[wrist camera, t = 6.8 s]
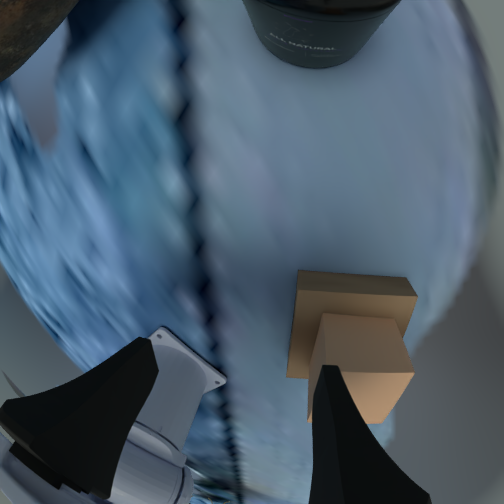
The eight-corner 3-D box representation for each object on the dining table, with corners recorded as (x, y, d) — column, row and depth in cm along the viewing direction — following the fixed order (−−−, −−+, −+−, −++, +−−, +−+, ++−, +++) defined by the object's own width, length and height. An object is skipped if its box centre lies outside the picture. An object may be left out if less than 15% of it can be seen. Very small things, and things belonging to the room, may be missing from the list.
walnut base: (378, 355, 21) (384, 379, 19) (288, 351, 22) (286, 377, 20) (404, 274, 18) (417, 296, 15) (298, 267, 19) (297, 289, 17)
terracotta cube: (372, 370, 18) (381, 423, 14) (308, 366, 19) (307, 422, 14) (394, 318, 16) (414, 372, 12) (322, 312, 17) (326, 370, 12)
